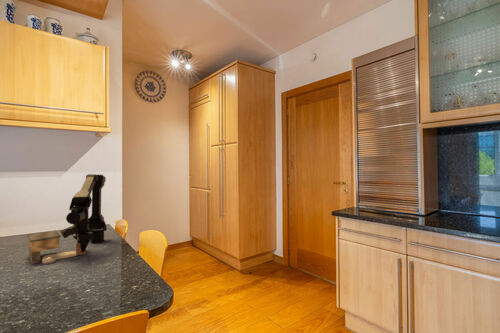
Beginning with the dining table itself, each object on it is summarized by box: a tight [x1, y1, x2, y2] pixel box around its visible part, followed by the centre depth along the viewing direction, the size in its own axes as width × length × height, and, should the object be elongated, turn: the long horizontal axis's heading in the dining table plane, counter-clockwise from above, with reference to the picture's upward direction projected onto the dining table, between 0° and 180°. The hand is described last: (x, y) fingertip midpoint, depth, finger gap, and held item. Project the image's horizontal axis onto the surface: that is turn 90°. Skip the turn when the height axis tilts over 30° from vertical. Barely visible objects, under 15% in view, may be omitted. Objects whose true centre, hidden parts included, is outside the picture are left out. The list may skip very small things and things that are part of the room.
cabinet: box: [27, 230, 62, 265], centre depth 122 cm, size 11×15×11 cm
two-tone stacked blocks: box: [45, 242, 87, 260], centre depth 122 cm, size 16×5×5 cm, turn 123°
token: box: [41, 254, 57, 265], centre depth 115 cm, size 5×5×2 cm
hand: (81, 251), depth 126 cm, fingers closed on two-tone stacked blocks, 4 cm apart
